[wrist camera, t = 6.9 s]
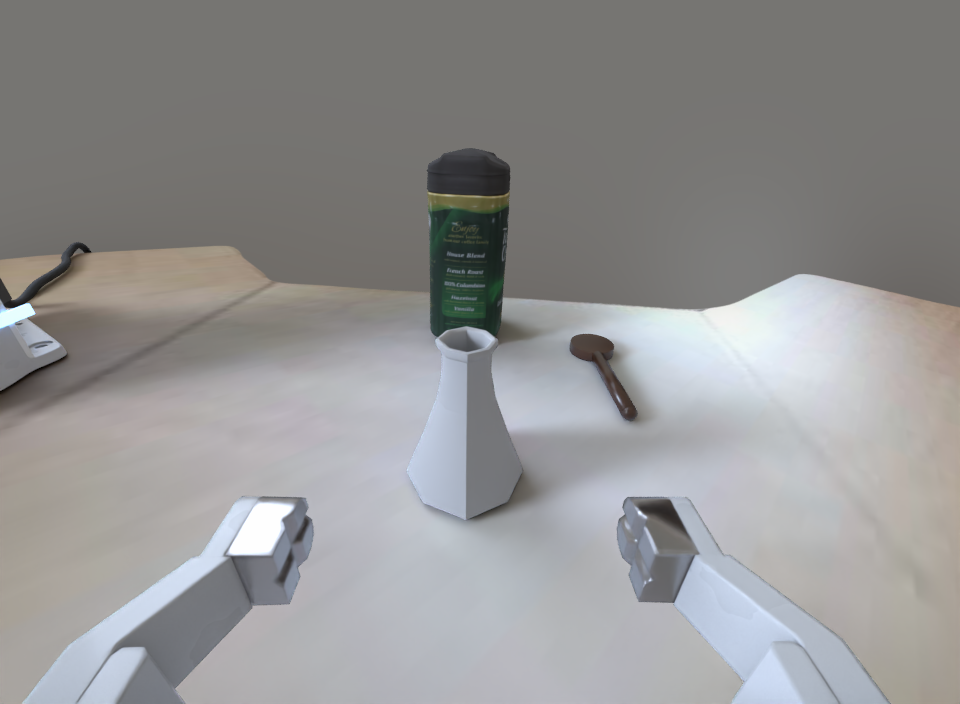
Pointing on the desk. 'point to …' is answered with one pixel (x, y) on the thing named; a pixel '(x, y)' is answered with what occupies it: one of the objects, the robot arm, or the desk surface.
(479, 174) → the coffee jar
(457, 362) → the flask
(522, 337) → the desk surface
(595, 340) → the wooden spoon
